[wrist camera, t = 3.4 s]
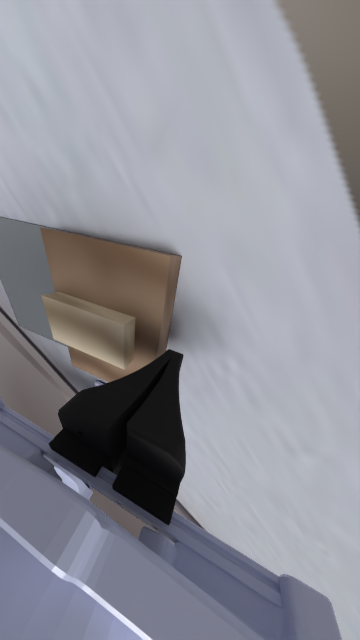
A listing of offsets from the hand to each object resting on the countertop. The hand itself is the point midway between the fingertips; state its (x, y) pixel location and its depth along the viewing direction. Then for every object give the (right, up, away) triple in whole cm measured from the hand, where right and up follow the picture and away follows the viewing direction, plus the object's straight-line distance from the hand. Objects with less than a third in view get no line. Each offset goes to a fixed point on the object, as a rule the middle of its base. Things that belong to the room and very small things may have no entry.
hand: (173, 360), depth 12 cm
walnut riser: (-6, +3, +4) cm, 8 cm away
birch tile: (-8, +3, +2) cm, 9 cm away
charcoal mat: (-19, +7, +7) cm, 22 cm away
